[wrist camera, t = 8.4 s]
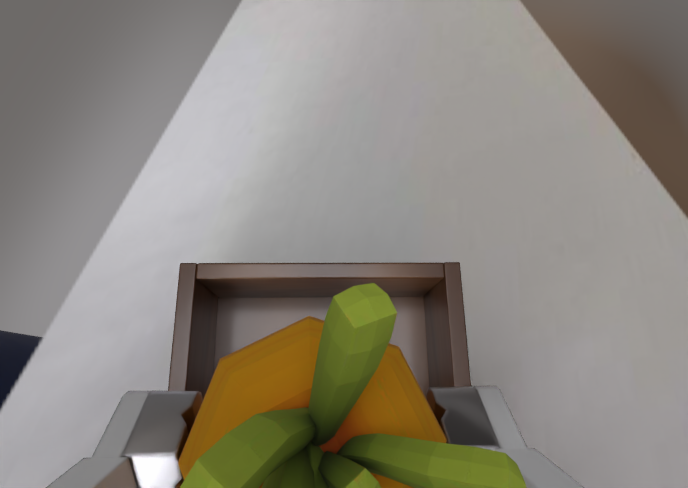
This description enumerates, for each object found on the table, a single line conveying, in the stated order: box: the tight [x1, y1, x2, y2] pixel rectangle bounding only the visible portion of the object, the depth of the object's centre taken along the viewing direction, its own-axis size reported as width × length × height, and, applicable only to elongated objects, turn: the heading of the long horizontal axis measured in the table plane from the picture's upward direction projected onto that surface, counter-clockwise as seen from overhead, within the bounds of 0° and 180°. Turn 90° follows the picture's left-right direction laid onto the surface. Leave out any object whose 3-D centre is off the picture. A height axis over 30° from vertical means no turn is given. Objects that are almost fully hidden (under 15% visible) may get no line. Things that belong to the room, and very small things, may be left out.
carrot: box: [178, 283, 527, 488], centre depth 11 cm, size 5×5×15 cm
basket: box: [168, 262, 471, 399], centre depth 23 cm, size 14×14×6 cm
